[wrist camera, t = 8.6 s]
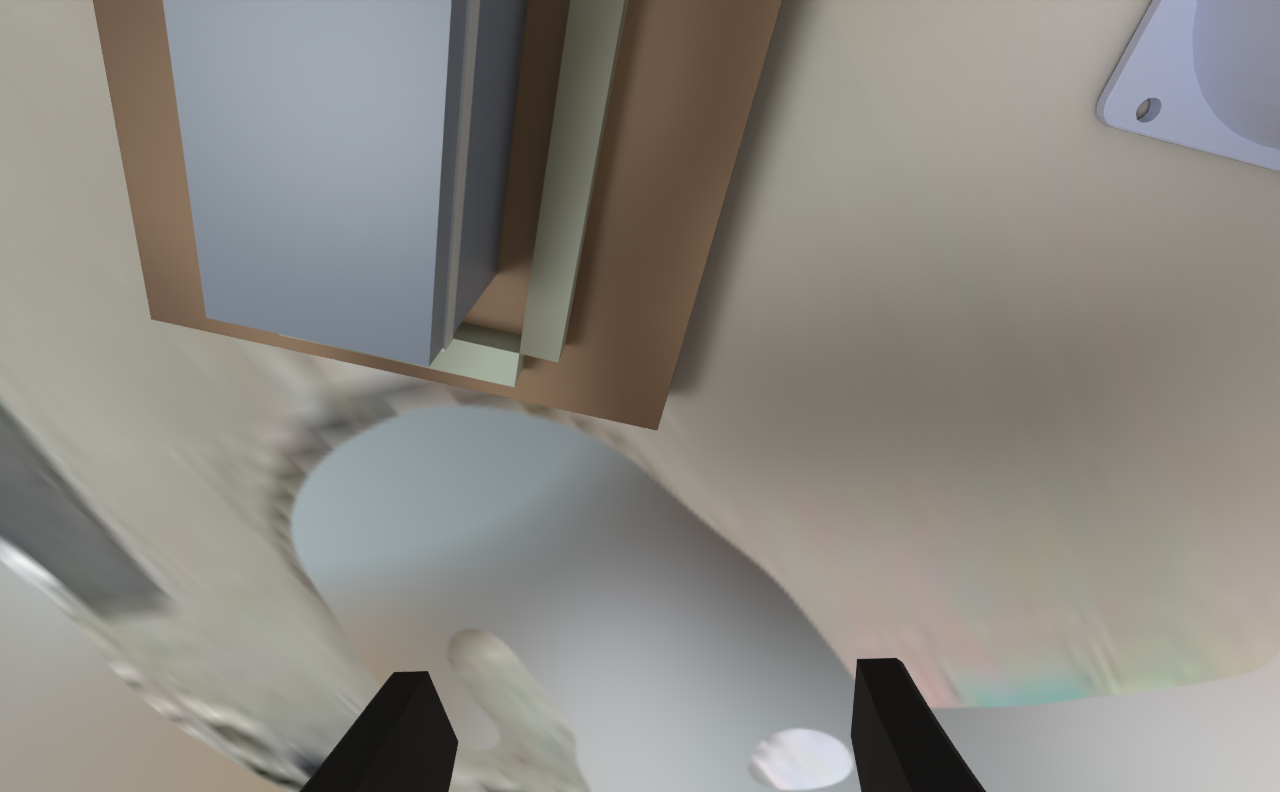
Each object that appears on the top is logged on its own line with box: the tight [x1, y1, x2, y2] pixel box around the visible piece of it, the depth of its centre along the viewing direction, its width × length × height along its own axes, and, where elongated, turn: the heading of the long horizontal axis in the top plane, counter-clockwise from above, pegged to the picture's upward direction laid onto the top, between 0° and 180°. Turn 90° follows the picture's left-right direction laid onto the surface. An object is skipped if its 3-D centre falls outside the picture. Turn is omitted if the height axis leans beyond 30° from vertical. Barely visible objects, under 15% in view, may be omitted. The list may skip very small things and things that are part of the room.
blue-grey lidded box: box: [163, 0, 528, 367], centre depth 12 cm, size 4×8×5 cm, turn 168°
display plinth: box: [93, 0, 782, 430], centre depth 15 cm, size 14×14×3 cm
